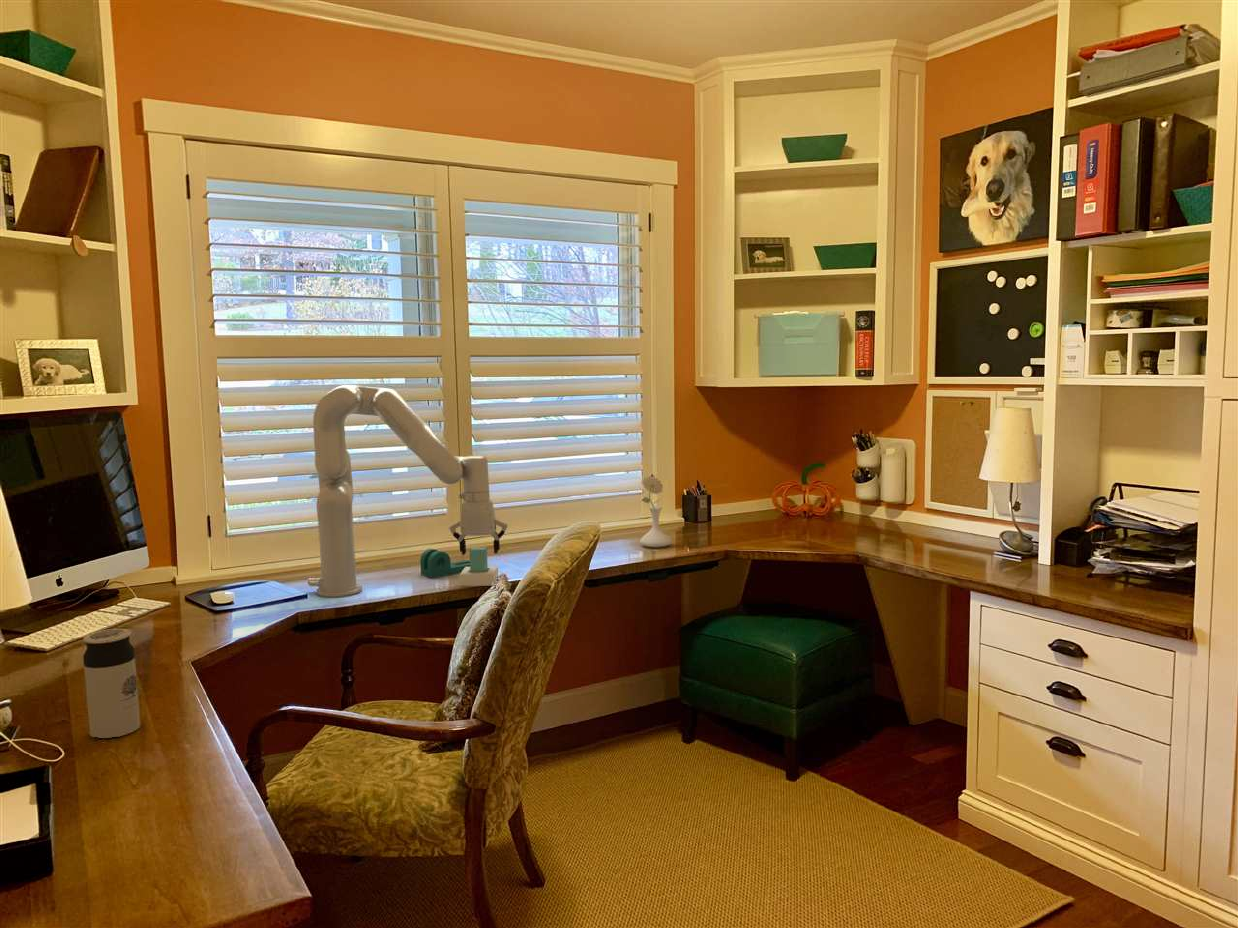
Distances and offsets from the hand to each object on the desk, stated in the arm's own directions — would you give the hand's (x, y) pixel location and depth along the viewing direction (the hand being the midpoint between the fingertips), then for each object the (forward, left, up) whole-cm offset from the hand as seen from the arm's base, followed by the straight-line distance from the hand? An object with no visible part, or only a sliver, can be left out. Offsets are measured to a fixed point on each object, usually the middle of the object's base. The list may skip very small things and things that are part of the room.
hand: (480, 553), depth 270 cm
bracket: (-12, +14, -9) cm, 20 cm away
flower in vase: (+53, +49, -9) cm, 73 cm away
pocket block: (-1, 0, -9) cm, 9 cm away
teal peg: (-1, 0, -9) cm, 9 cm away
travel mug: (-49, -109, -9) cm, 120 cm away
